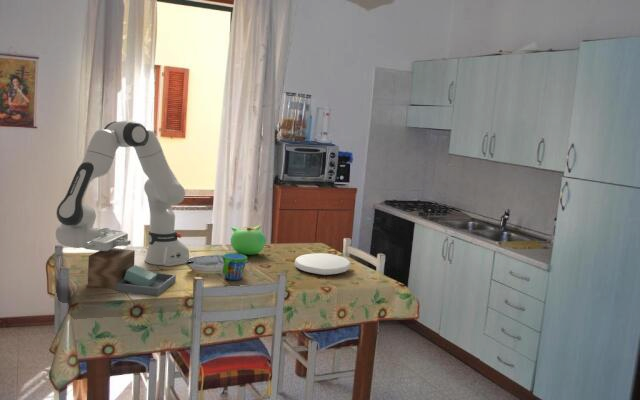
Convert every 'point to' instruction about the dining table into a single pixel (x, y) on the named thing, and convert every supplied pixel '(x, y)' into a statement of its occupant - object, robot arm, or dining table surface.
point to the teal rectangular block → (140, 276)
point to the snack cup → (234, 265)
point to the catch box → (155, 289)
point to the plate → (322, 263)
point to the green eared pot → (248, 240)
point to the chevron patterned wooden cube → (109, 267)
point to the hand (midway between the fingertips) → (129, 243)
